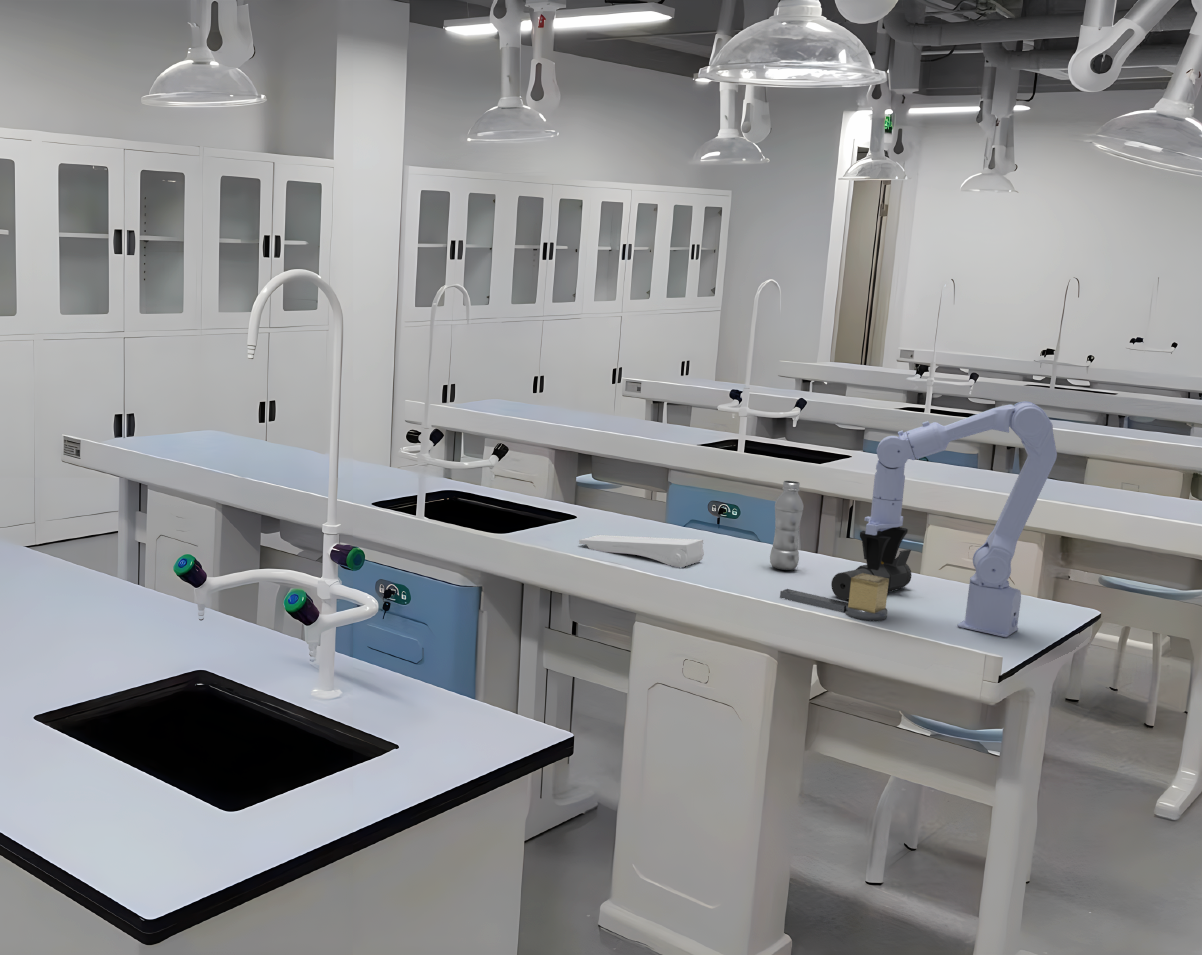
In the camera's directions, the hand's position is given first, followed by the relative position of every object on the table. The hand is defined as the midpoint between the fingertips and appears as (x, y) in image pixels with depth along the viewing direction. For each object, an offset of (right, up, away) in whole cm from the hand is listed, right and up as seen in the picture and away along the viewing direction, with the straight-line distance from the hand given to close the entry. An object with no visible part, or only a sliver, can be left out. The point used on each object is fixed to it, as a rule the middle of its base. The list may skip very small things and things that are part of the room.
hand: (880, 566), depth 229 cm
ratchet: (-9, -9, +4) cm, 13 cm away
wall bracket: (-46, -1, +39) cm, 60 cm away
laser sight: (+3, -7, +19) cm, 20 cm away
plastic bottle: (-14, -4, +34) cm, 37 cm away
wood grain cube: (-3, -8, 0) cm, 9 cm away
